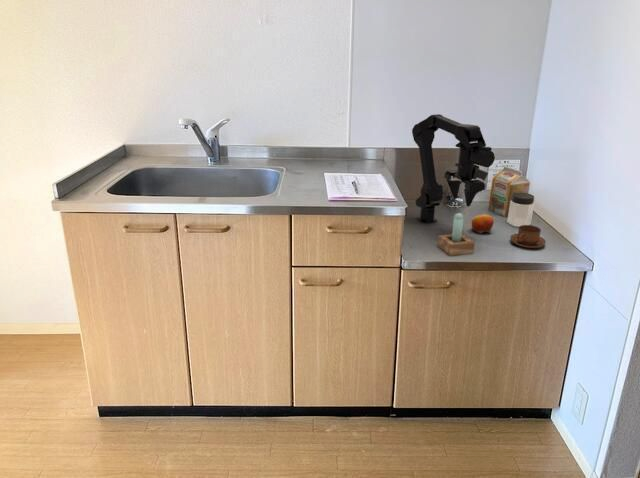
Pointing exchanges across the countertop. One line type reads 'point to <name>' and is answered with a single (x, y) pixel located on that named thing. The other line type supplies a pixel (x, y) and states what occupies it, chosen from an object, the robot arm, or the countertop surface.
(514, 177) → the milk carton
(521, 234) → the cup and saucer
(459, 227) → the dowel
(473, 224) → the fruit
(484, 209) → the countertop surface
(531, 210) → the jar
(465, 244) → the wooden square socket block
